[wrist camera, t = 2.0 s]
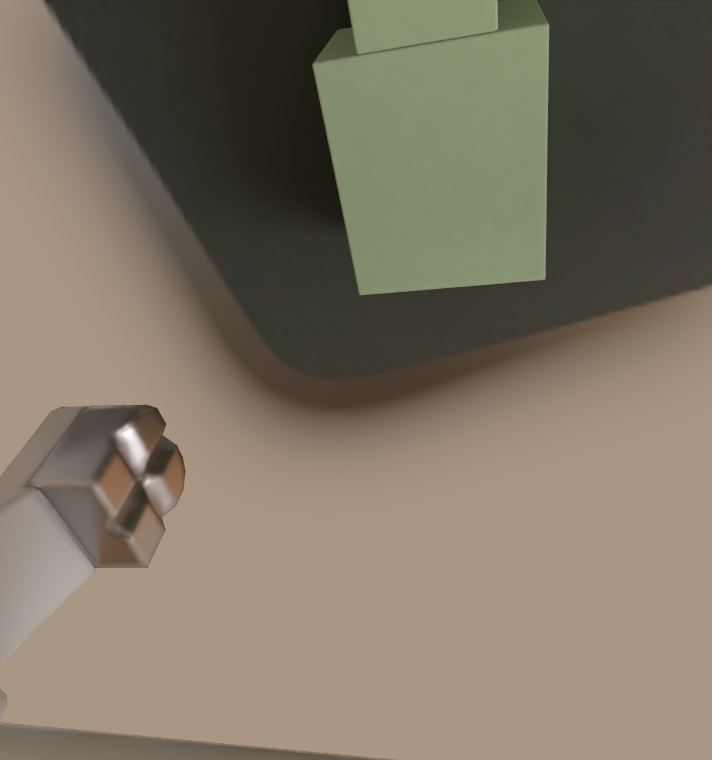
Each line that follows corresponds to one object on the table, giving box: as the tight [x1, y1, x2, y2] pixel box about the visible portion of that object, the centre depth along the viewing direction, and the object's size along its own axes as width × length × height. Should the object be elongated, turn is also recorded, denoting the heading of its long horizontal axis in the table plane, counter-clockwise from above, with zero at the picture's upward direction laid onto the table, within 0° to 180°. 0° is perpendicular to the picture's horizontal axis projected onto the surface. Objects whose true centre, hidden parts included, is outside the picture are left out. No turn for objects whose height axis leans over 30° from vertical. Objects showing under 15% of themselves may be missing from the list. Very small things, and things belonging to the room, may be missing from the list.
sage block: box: [312, 0, 549, 295], centre depth 15 cm, size 5×8×4 cm, turn 10°
